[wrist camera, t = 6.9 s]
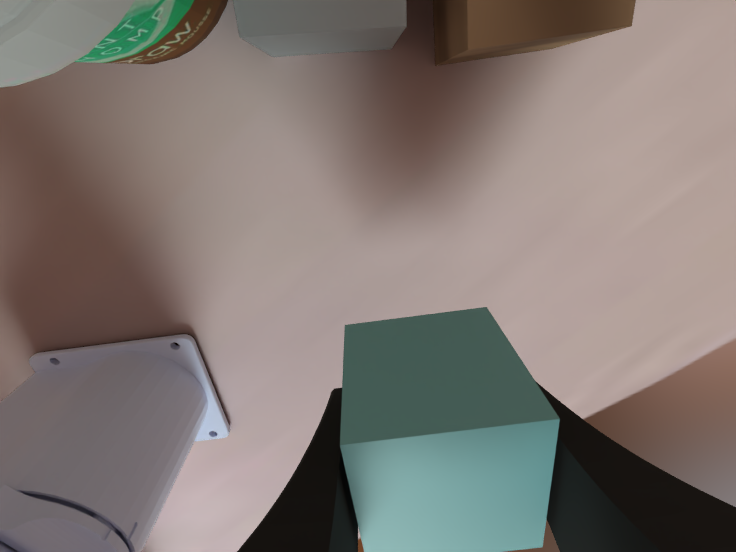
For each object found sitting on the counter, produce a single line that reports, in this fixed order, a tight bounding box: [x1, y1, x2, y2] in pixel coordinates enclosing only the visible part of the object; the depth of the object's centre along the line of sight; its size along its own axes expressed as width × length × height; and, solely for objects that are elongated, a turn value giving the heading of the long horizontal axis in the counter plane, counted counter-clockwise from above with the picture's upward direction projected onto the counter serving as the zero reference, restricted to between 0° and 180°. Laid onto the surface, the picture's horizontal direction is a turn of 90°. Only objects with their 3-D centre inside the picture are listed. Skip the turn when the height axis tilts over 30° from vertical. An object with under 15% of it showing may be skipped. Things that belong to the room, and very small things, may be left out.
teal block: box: [340, 307, 560, 552], centre depth 12 cm, size 5×5×5 cm
